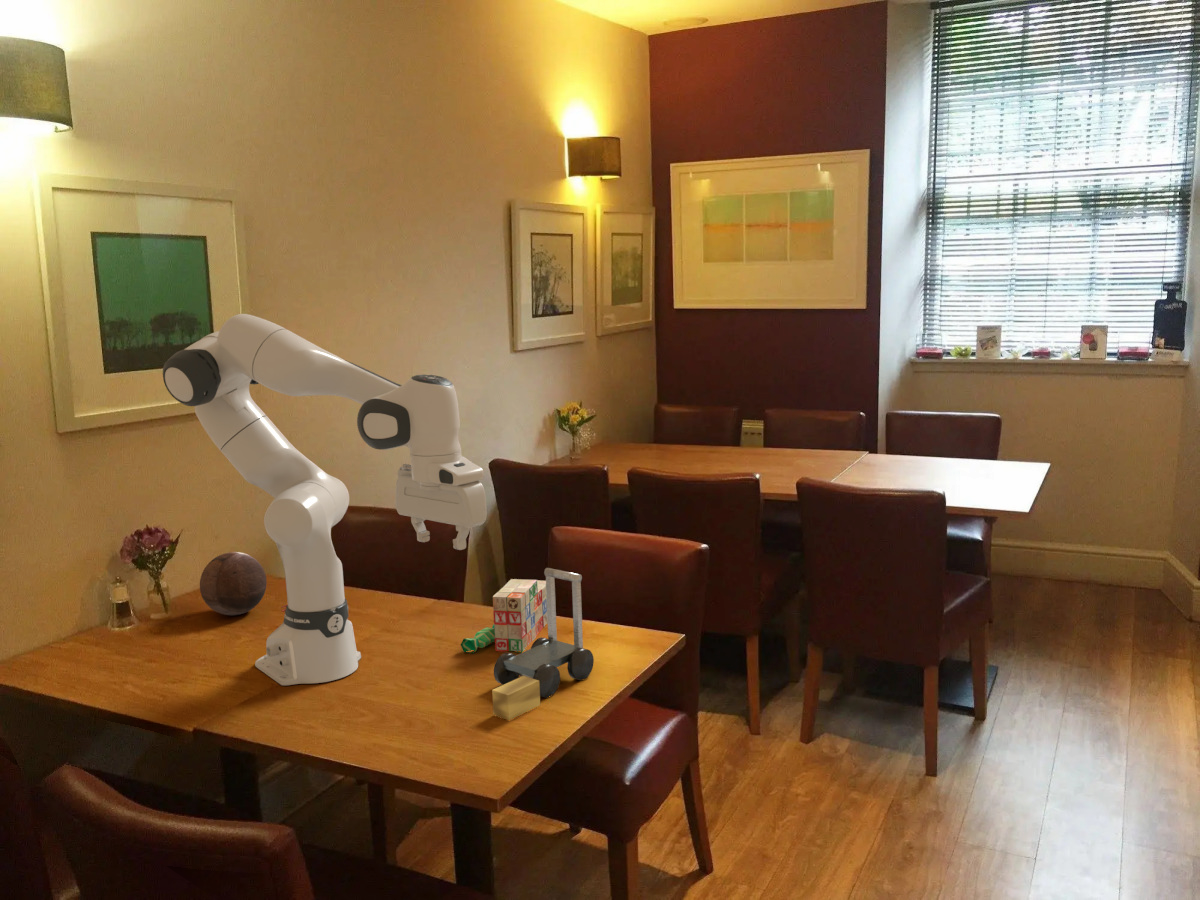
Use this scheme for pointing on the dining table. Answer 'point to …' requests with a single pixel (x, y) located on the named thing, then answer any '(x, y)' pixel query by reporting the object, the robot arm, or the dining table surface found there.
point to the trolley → (550, 646)
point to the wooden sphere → (233, 583)
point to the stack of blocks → (519, 614)
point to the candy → (479, 639)
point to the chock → (516, 697)
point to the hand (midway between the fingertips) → (441, 545)
